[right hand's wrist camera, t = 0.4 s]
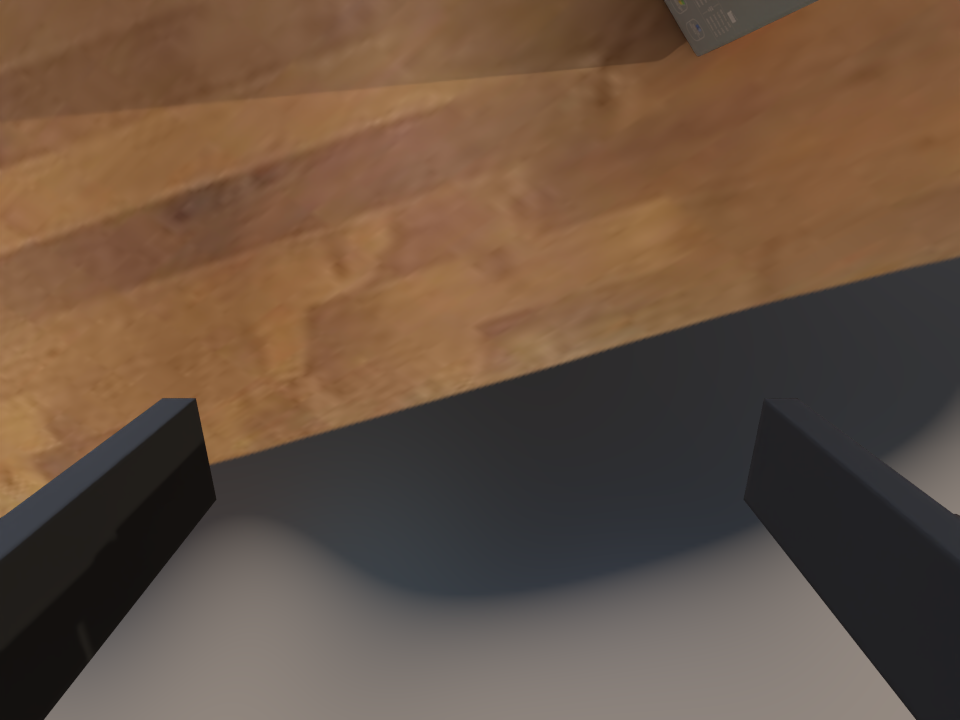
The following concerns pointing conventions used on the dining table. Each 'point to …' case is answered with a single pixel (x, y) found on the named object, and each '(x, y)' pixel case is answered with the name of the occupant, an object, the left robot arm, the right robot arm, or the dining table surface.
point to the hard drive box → (726, 19)
